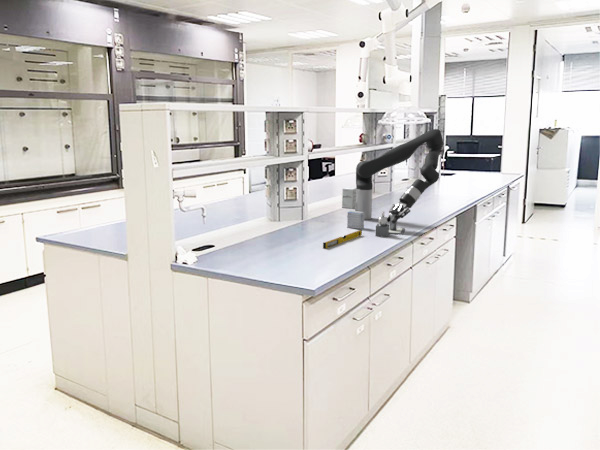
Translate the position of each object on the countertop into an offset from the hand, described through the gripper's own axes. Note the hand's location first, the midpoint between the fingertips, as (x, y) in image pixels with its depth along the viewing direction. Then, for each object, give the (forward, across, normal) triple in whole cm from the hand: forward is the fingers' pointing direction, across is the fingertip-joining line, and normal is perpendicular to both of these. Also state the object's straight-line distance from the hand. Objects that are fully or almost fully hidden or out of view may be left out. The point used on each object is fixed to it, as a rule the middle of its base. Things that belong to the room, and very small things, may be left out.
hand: (389, 221), depth 272 cm
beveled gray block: (+10, -6, +2) cm, 11 cm away
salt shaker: (+2, 0, -5) cm, 5 cm away
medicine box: (+12, +15, +4) cm, 20 cm away
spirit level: (+27, -10, +19) cm, 35 cm away
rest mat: (+2, 0, -5) cm, 6 cm away
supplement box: (-8, +72, -16) cm, 74 cm away
